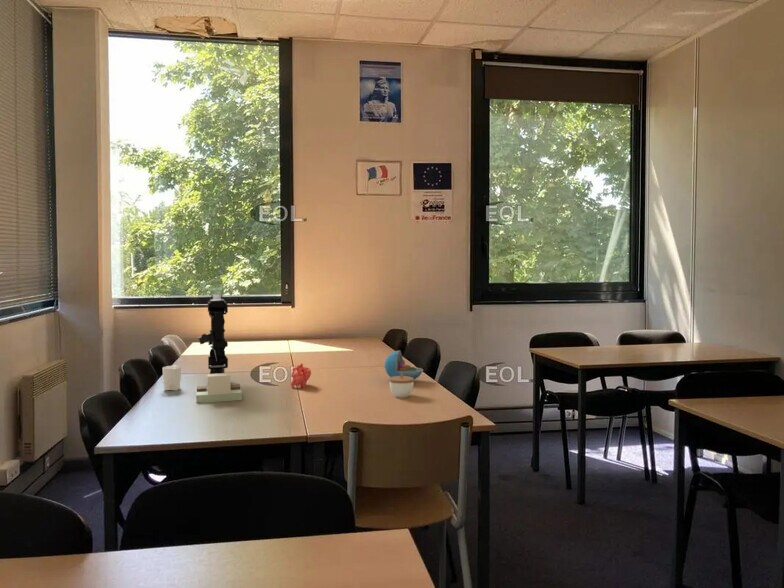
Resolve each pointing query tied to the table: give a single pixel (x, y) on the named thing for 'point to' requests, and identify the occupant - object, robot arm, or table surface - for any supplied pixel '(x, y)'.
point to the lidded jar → (401, 385)
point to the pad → (218, 396)
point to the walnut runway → (205, 387)
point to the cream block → (219, 383)
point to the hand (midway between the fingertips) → (218, 361)
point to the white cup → (171, 377)
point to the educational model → (400, 366)
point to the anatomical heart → (299, 378)
